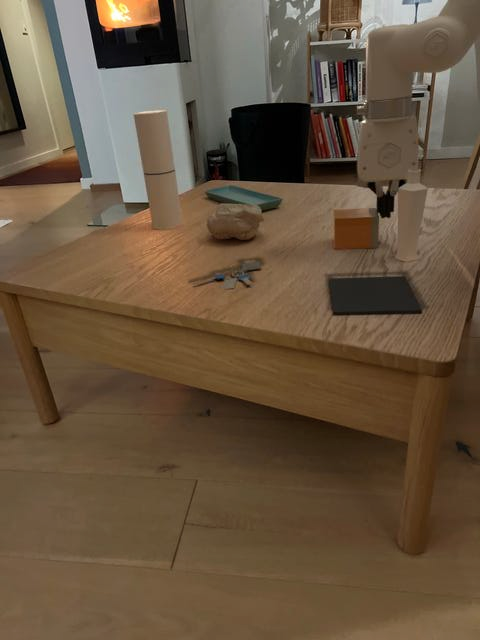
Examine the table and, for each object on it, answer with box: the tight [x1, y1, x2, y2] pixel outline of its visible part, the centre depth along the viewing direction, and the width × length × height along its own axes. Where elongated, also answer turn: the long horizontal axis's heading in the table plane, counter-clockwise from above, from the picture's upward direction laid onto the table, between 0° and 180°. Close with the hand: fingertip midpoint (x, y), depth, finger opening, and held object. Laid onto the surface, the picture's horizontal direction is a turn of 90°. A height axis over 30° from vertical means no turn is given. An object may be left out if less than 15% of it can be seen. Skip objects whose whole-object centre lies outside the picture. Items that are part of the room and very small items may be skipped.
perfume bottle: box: [394, 168, 429, 263], centre depth 80 cm, size 5×4×15 cm
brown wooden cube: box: [332, 207, 380, 250], centre depth 91 cm, size 8×6×6 cm
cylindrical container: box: [133, 109, 183, 231], centre depth 108 cm, size 7×7×25 cm
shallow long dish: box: [203, 184, 284, 212], centre depth 127 cm, size 26×9×2 cm, turn 32°
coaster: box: [328, 275, 423, 316], centre depth 71 cm, size 12×12×1 cm
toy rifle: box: [192, 261, 262, 290], centre depth 81 cm, size 14×8×1 cm, turn 133°
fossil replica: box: [206, 203, 265, 241], centre depth 99 cm, size 12×8×10 cm
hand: (384, 216), depth 89 cm, fingers closed
